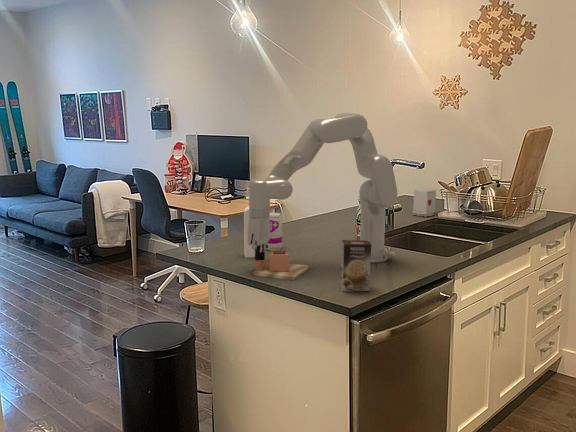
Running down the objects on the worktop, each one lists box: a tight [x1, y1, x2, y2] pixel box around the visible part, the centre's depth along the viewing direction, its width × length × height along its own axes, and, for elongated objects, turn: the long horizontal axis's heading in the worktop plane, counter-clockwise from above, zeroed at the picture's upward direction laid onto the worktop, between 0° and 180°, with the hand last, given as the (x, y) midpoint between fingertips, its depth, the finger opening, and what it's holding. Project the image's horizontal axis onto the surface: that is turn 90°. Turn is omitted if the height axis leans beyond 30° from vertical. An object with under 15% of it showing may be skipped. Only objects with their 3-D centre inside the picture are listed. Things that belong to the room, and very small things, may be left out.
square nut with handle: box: [254, 249, 290, 272], centre depth 210 cm, size 12×7×6 cm, turn 90°
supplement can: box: [265, 212, 283, 251], centre depth 244 cm, size 8×8×15 cm
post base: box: [252, 262, 310, 281], centre depth 211 cm, size 16×16×5 cm
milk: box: [243, 205, 255, 259], centre depth 232 cm, size 6×6×22 cm
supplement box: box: [412, 187, 437, 214], centre depth 320 cm, size 9×9×15 cm
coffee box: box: [339, 239, 372, 292], centre depth 190 cm, size 9×6×16 cm
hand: (259, 262), depth 213 cm, fingers closed
